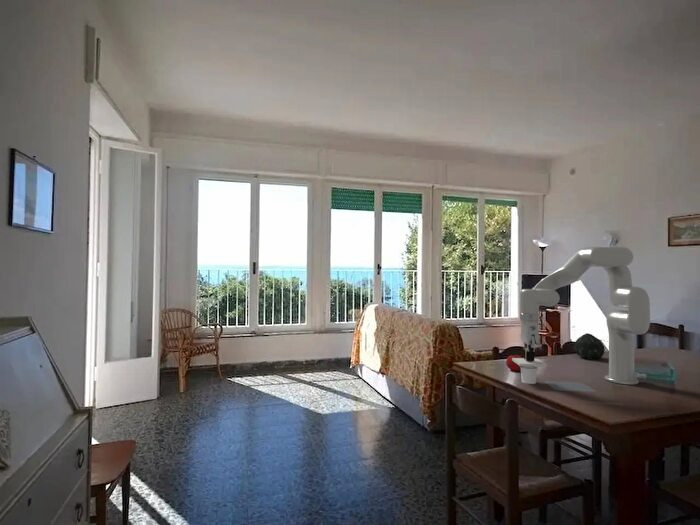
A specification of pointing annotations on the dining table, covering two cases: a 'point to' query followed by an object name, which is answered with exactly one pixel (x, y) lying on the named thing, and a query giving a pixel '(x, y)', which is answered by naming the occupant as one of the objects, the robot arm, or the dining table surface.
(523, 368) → the white cylinder
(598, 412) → the dining table surface
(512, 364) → the tomato
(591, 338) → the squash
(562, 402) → the dining table surface
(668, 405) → the dining table surface
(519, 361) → the lid
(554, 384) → the mat
